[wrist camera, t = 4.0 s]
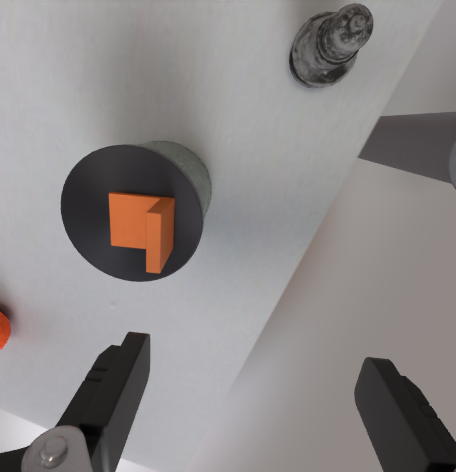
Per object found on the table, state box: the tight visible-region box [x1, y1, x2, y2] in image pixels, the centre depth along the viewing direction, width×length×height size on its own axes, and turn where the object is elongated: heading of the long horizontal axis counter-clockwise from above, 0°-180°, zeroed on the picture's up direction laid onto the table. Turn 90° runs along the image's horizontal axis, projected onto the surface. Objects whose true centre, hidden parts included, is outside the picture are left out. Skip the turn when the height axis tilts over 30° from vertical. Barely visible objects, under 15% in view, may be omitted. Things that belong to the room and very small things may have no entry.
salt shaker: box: [289, 3, 373, 88], centre depth 24 cm, size 6×6×12 cm
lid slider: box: [109, 192, 175, 273], centre depth 22 cm, size 5×4×4 cm
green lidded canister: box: [61, 141, 211, 282], centre depth 30 cm, size 12×12×12 cm
